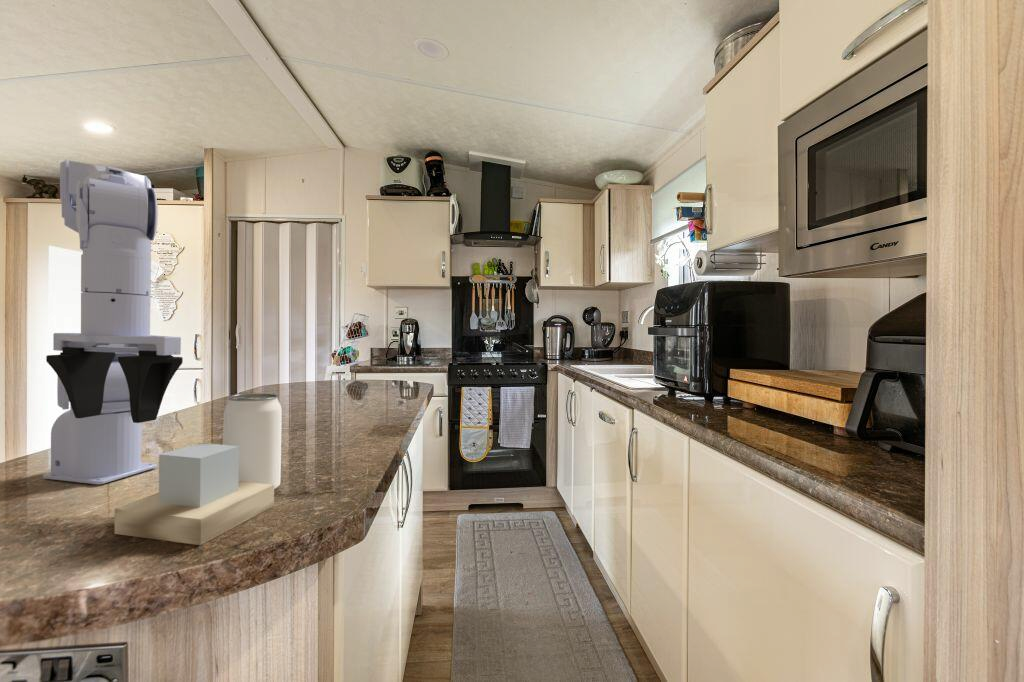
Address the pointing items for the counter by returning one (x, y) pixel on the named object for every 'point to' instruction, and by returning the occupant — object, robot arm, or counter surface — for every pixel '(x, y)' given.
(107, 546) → the counter surface
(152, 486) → the counter surface
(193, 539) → the base
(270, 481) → the can
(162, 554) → the counter surface
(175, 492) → the block
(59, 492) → the counter surface
